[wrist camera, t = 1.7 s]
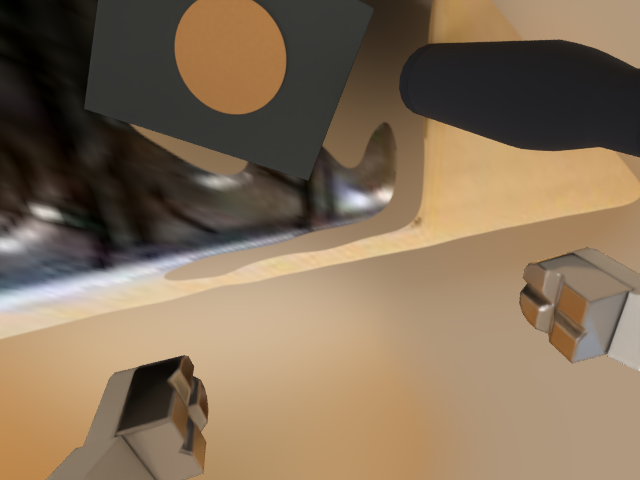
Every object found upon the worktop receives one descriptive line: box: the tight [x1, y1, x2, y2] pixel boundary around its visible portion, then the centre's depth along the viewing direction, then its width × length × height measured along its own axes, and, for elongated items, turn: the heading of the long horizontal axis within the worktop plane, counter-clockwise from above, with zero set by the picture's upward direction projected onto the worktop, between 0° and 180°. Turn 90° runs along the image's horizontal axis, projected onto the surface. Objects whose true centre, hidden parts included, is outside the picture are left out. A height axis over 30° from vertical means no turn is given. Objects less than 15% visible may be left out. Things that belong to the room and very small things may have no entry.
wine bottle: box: [399, 40, 640, 157], centre depth 22 cm, size 6×6×30 cm
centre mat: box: [85, 0, 374, 180], centre depth 30 cm, size 16×20×1 cm
